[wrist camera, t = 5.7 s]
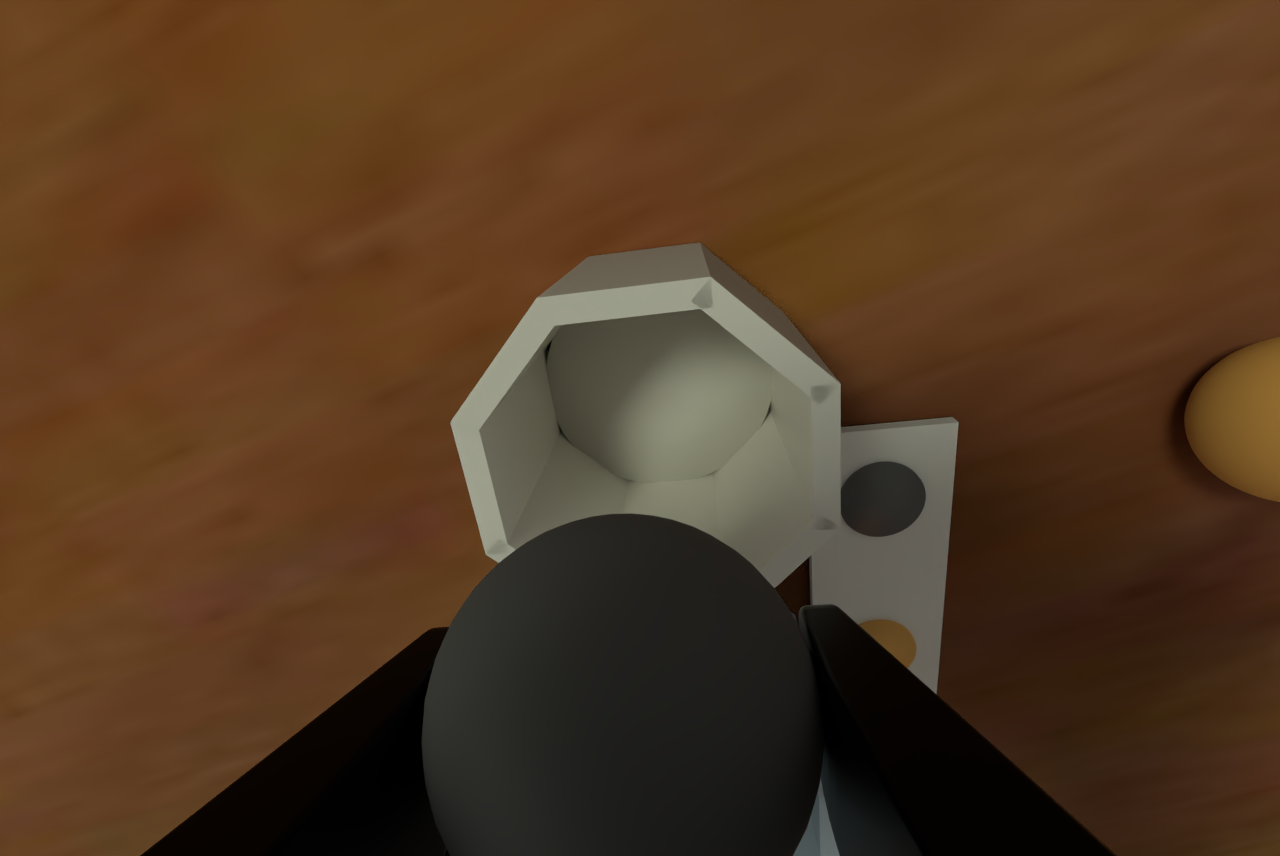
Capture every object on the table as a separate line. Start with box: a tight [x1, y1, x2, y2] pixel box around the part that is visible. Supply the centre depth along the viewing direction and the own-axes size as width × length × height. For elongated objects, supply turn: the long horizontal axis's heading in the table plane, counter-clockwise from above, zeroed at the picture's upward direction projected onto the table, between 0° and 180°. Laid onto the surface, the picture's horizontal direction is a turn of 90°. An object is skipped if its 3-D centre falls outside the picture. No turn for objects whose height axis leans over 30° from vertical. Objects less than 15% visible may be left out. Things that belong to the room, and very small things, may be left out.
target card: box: [809, 417, 959, 694], centre depth 18 cm, size 10×4×1 cm, turn 7°
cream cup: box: [450, 242, 841, 588], centre depth 14 cm, size 7×7×6 cm
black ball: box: [421, 513, 824, 856], centre depth 6 cm, size 4×4×4 cm
